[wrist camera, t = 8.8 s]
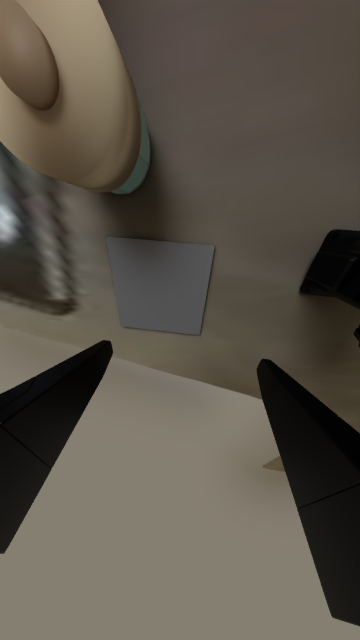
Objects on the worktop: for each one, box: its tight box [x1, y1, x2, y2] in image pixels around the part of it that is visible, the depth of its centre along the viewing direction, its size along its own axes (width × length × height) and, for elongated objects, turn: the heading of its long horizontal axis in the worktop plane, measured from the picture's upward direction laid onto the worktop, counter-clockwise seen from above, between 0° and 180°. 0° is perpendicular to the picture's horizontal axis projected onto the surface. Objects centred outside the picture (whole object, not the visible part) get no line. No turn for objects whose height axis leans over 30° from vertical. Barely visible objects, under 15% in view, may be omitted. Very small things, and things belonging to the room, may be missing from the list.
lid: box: [0, 0, 141, 193], centre depth 8 cm, size 7×7×5 cm
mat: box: [106, 236, 215, 335], centre depth 20 cm, size 12×12×1 cm
